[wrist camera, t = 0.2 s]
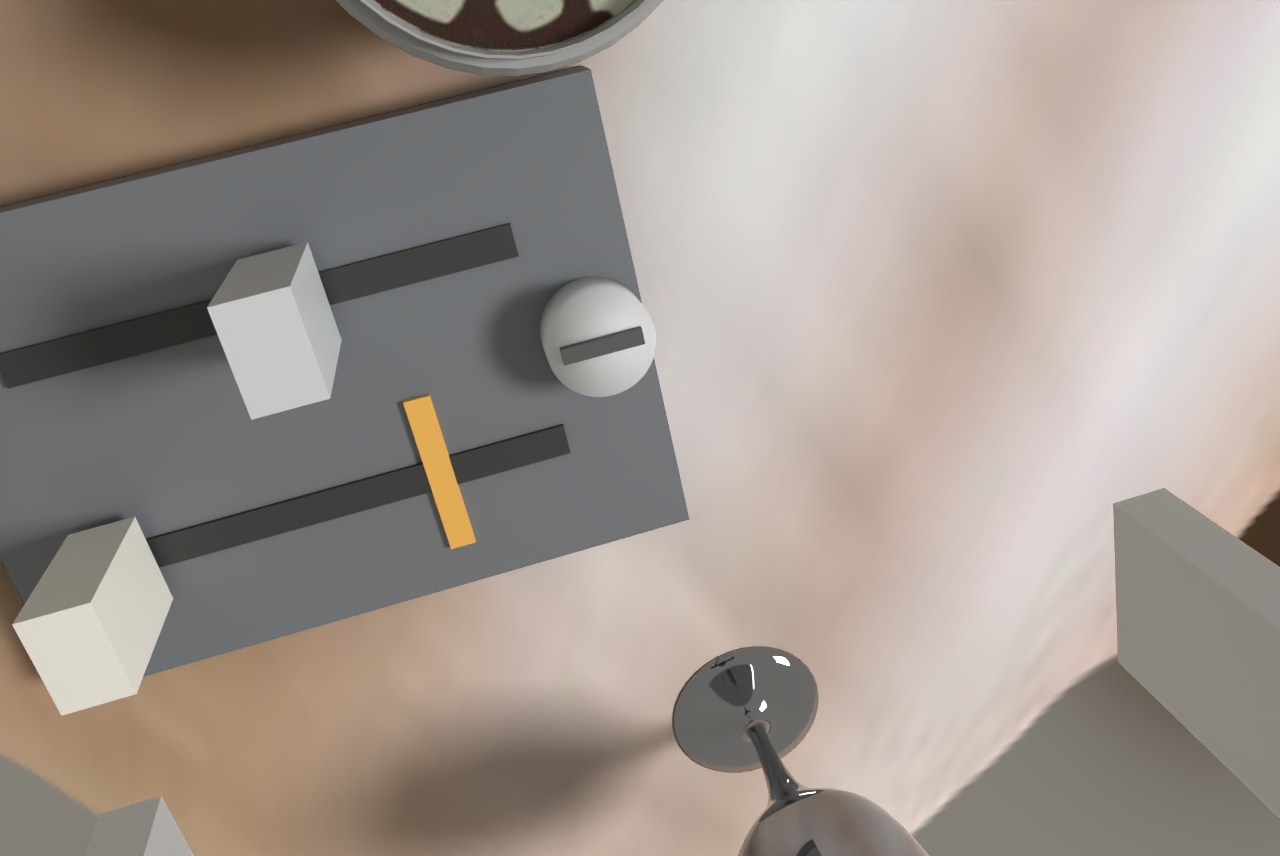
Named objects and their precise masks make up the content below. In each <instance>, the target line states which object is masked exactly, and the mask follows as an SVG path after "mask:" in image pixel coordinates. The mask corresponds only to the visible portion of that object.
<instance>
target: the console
mask: <svg viewBox="0 0 1280 856" xmlns="http://www.w3.org/2000/svg"><path fill="white" fill-rule="evenodd" d="M305 242H308V244H309V247H310V250H311V253H312V256H313V259H314V261H315V264H316V267H317V270H318V273H319V276H320V279H321V282H322V285H323V287H324V290H325V293H326V296H327V299H328V302H329V305H330V308H331V311H332V313H333V316H334V319H335V322H336V325H337V328H338V331H339V334H340V337H341V339H342V341H341V346H340V351H339V356H338V361H337V366H336V372H335V377H334V382H333V387H332V392H331V397H330V399H327V400H323V401H320V402H316V403H312V404H308V405H305V406H301V407H297V408H294V409H290V410H286V411H282V412H279V413H275V414H271V415H267V416H264V417H260V418H256V419H252V420H251V418H250V415H249V413H248V410H247V408H246V405H245V403H244V400H243V397H242V395H241V392H240V390H239V387H238V385H237V382H236V380H235V377H234V375H233V372H232V370H231V367H230V365H229V362H228V360H227V357H226V355H225V352H224V350H223V347H222V345H221V342H220V339H219V337H218V334H217V332H216V329H215V327H214V324H213V322H212V319H211V317H210V314H209V312H208V309H207V307H208V305H209V303H210V302H211V300H212V299H213V297H214V296H215V294H216V292H217V291H218V289H219V288H220V286H221V285H222V283H223V281H224V280H225V278H226V277H227V275H228V274H229V272H230V270H231V269H232V267H233V266H234V264H235V263H236V261H237V260H238V259H242V258H246V257H250V256H254V255H258V254H262V253H266V252H270V251H274V250H278V249H282V248H286V247H289V246H293V245H297V244H301V243H305ZM655 351H656V331H655V327H654V324H653V321H652V319H651V317H650V315H649V314H648V312H647V311H646V309H645V308H644V307H643V305H642V302H641V297H640V293H639V288H638V284H637V279H636V275H635V270H634V266H633V261H632V256H631V252H630V247H629V243H628V238H627V234H626V229H625V225H624V220H623V215H622V211H621V206H620V202H619V197H618V193H617V188H616V184H615V179H614V174H613V170H612V165H611V161H610V156H609V152H608V147H607V142H606V138H605V133H604V129H603V124H602V120H601V115H600V111H599V106H598V101H597V97H596V92H595V88H594V83H593V79H592V74H591V70H590V69H589V68H586V67H584V66H578V67H574V68H570V69H566V70H562V71H558V72H553V73H549V74H545V75H541V76H537V77H533V78H529V79H525V80H520V81H516V82H512V83H508V84H504V85H500V86H496V87H492V88H487V89H483V90H479V91H475V92H471V93H467V94H463V95H459V96H455V97H450V98H446V99H442V100H438V101H434V102H430V103H426V104H422V105H417V106H413V107H409V108H405V109H401V110H397V111H393V112H389V113H385V114H380V115H376V116H372V117H368V118H364V119H360V120H356V121H352V122H347V123H343V124H339V125H335V126H331V127H327V128H323V129H319V130H314V131H310V132H306V133H302V134H298V135H294V136H290V137H286V138H282V139H277V140H273V141H269V142H265V143H261V144H257V145H253V146H249V147H244V148H240V149H236V150H232V151H228V152H224V153H220V154H216V155H211V156H207V157H203V158H199V159H195V160H191V161H187V162H183V163H179V164H174V165H170V166H166V167H162V168H158V169H154V170H150V171H146V172H141V173H137V174H133V175H129V176H125V177H121V178H117V179H113V180H108V181H104V182H100V183H96V184H92V185H88V186H84V187H80V188H76V189H71V190H67V191H63V192H59V193H55V194H51V195H47V196H43V197H38V198H34V199H30V200H26V201H22V202H18V203H14V204H10V205H5V206H1V207H0V560H1V561H2V563H3V565H4V567H5V569H6V571H7V573H8V574H9V576H10V578H11V580H12V582H13V584H14V586H15V588H16V589H17V591H18V593H19V595H20V597H21V599H22V601H23V603H24V604H25V603H26V601H27V600H28V598H29V597H30V595H31V593H32V592H33V590H34V589H35V587H36V585H37V584H38V582H39V581H40V579H41V577H42V576H43V574H44V573H45V571H46V569H47V568H48V566H49V565H50V563H51V561H52V560H53V558H54V557H55V555H56V553H57V552H58V550H59V549H60V547H61V545H62V544H63V542H64V541H65V539H66V537H67V536H68V535H69V534H73V533H77V532H80V531H84V530H88V529H91V528H95V527H99V526H102V525H106V524H110V523H113V522H117V521H121V520H124V519H128V518H132V517H136V519H137V522H138V524H139V526H140V528H141V530H142V532H143V535H144V537H145V539H146V541H147V543H148V545H149V547H150V550H151V552H152V554H153V556H154V558H155V560H156V563H157V565H158V567H159V569H160V571H161V573H162V575H163V578H164V580H165V582H166V584H167V586H168V588H169V590H170V593H171V595H172V597H173V601H172V603H171V606H170V608H169V611H168V614H167V616H166V619H165V621H164V624H163V627H162V629H161V632H160V634H159V637H158V639H157V642H156V645H155V647H154V650H153V652H152V655H151V658H150V660H149V663H148V665H147V668H146V670H145V673H144V676H147V675H150V674H154V673H157V672H161V671H164V670H168V669H171V668H175V667H178V666H182V665H185V664H189V663H192V662H196V661H199V660H203V659H206V658H210V657H213V656H216V655H220V654H223V653H227V652H230V651H234V650H237V649H241V648H244V647H248V646H251V645H255V644H258V643H262V642H265V641H269V640H272V639H275V638H279V637H282V636H286V635H289V634H293V633H296V632H300V631H303V630H307V629H310V628H314V627H317V626H321V625H324V624H328V623H331V622H334V621H338V620H341V619H345V618H348V617H352V616H355V615H359V614H362V613H366V612H369V611H373V610H376V609H380V608H383V607H387V606H390V605H394V604H397V603H400V602H404V601H407V600H411V599H414V598H418V597H421V596H425V595H428V594H432V593H435V592H439V591H442V590H446V589H449V588H453V587H456V586H459V585H463V584H466V583H470V582H473V581H477V580H480V579H484V578H487V577H491V576H494V575H498V574H501V573H505V572H508V571H512V570H515V569H518V568H522V567H525V566H529V565H532V564H536V563H539V562H543V561H546V560H550V559H553V558H557V557H560V556H564V555H567V554H571V553H574V552H578V551H581V550H584V549H588V548H591V547H595V546H598V545H602V544H605V543H609V542H612V541H616V540H619V539H623V538H626V537H630V536H633V535H637V534H640V533H643V532H647V531H650V530H654V529H657V528H661V527H664V526H668V525H671V524H675V523H678V522H682V521H685V520H689V516H688V512H687V507H686V503H685V498H684V493H683V489H682V484H681V480H680V475H679V471H678V466H677V462H676V457H675V452H674V448H673V443H672V439H671V434H670V430H669V425H668V420H667V416H666V411H665V407H664V402H663V398H662V393H661V389H660V384H659V379H658V375H657V370H656V366H655V361H654V355H655ZM144 676H143V677H144Z"/></svg>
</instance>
